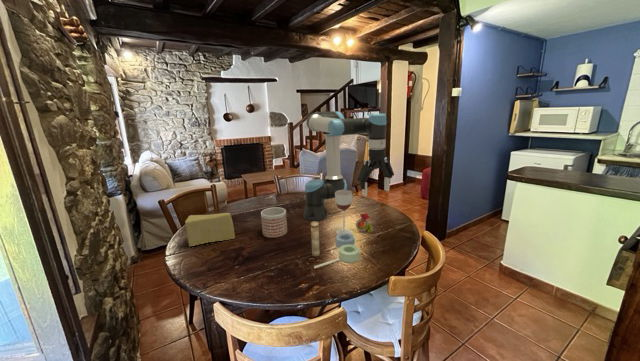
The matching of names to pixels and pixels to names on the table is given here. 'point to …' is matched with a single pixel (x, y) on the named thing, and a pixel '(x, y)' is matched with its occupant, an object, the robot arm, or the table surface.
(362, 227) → the red green lumpy piece
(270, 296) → the table surface
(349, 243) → the blue bead
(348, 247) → the bead
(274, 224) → the planter
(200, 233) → the cheese
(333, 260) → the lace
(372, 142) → the robot arm
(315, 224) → the wooden dowel
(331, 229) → the table surface
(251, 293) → the table surface
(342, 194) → the wineglass
